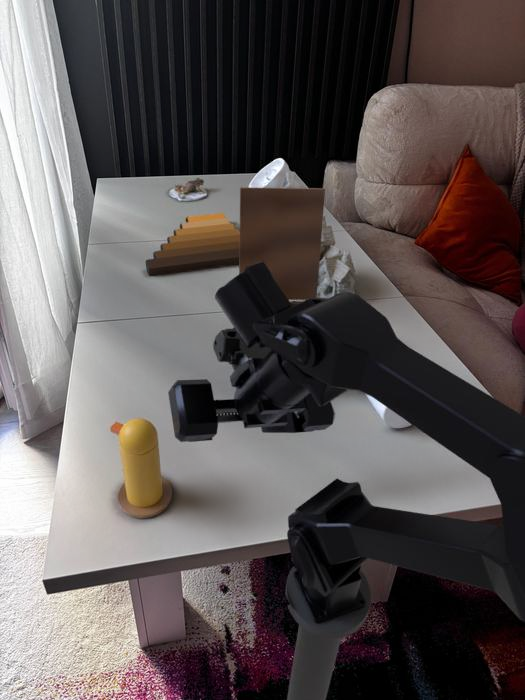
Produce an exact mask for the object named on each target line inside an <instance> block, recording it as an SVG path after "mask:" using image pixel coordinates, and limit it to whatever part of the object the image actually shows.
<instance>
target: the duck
mask: <svg viewBox="0 0 525 700" xmlns="http://www.w3.org/2000/svg"><path fill="white" fill-rule="evenodd" d="M109 429H110V432H111V433H112V434H114V435H118V443H119V445H118V446H119V452H120V458H121V464H122V472H123V479H124V483H125V486H126V493H127V499H128V501H129V502H130V503H131V504H132V505H134V506H136V507H149V506H152V505H154V504H155V503H157V502H158V501H159V500H160V498H161V496H162V493H163V490H162V479H161V476H162V469H161V468H162V467H161V457H160V456H161V455H160V446H159V436H158V431H157V428H156V427H155V425H154V424H153V423H152V422H151V421H150V420H148V419H145V418H140V417H139V418H132V419H130V420H128V421H127V422H126V423H120V422H118V421H115V422H114V423H113V424H112V425H111V426H110V427H109Z"/></svg>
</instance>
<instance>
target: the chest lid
mask: <svg viewBox="0 0 525 700" xmlns="http://www.w3.org/2000/svg"><path fill="white" fill-rule="evenodd" d="M325 195H326V189H325V188H321V187H320V188H319V187H318V188H317V187H308V188H307V187H299V188H254V187H249V186H248V187H247V186H246V187H239V234H240V242H239V264H238V275H239V274H241V273H243V272H244V270H245V269H246V267H247V266H249V265H252V264H255V263H257V262H260V261H263V262H264V263H265V265H266V266H267V267H268V269H269V270H270V272H271V274H272V276H273V278H274V280H275V281H276V283H277V284H278V286H279V287H280V288H281V290H282V291H283V293H284V294H285V296H286V297H287V299H288V300H289V301H305V300H307V299H310V298H312V297H317V288H318V275H319V262H320V249H321V236H322V222H323V215H324V209H325V207H324V206H325Z"/></svg>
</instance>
